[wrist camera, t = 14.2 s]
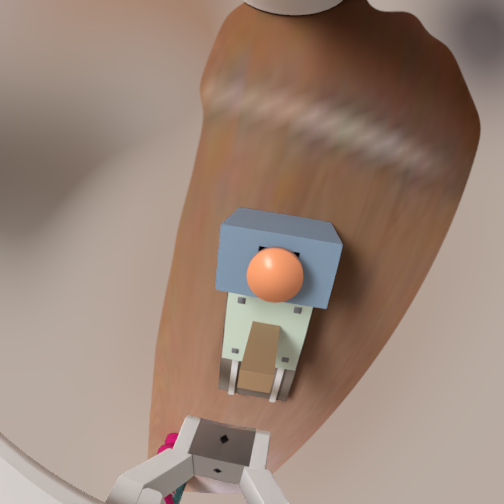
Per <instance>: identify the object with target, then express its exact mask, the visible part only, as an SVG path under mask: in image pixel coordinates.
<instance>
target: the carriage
mask: <svg viewBox="0 0 504 504" xmlns="http://www.w3.org/2000/svg"><path fill="white" fill-rule="evenodd" d="M312 309H313V307H310V306H304V305H298V304H292V303H286V302H278V303H274V302H268V301H265V300H262V299H260V298H257V297H251V296H246V295H240V294H235V293H230V292H228V300H227V310H226V320H225V330H224V340H223V351H222V358H227V359H232V360H236V361H241V362H242V363H241V367H240V371H239V378H238V384H237V387H238V388H243V389H248V390H254V391H259V392H265V393H270V389H271V386H272V382H273V378H274V372H275V368H281V369H288V370H294V371H295V369H296V366H297V362H298V359H299V356H300V352H301V349H302V345H303V342H304V338H305V335H306V331H307V328H308V324H309V320H310V317H311V313H312Z"/></svg>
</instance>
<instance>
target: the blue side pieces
mask: <svg viewBox="0 0 504 504" xmlns="http://www.w3.org/2000/svg"><path fill="white" fill-rule="evenodd" d="M260 246H262V247H273V246H277V247H283V248H286V249H288V250H290V251H292V252H297V253H299V257H298V258H299V260H300V262H301V264H302V267H303V283H302V286H301V289H300V290H299V292H298V293H297V294H296V295H295V296H294V297H292V298H291V299H289V300H287V301H284V302H286V303H292V304H298V305H304V306H310V307H316V308H323V309H327V305H328V301H329V298H330V294H331V290H332V287H333V283H334V279H335V275H336V271H337V267H338V263H339V259H340V255H341V251H342V246H343V244H342V242H341V240H340V238H339V236H338V235H337V233H336V231H335V229H334V227H333V225H332V223H331V222H325V221H320V220H314V219H309V218H303V217H297V216H291V215H286V214H280V213H273V212H267V211H261V210H255V209H248V208H241V207H239V208H238V209H237V210H236V211H235V212H234V213H232V214H231V215H230V216H229V217H228V218H227V219H226V220H225V221H224V222H223V223H222V224H221V230H220V241H219V251H218V262H217V273H216V285H215V290H220V291H225V292H230V293H235V294H240V295H246V296H251V297H257V296H256V295H255V294H254V293H253V292H252V290H251V289H250V287H249V285H248V282H247V269H248V267H249V264H250V262H251V260H252V258H253V257H254V255H255V254H256V253H258V252H259V249H260ZM257 298H259V297H257Z"/></svg>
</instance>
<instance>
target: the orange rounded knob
mask: <svg viewBox="0 0 504 504" xmlns="http://www.w3.org/2000/svg"><path fill="white" fill-rule="evenodd" d="M247 282H248V285H249V287H250V289H251V290H252V292H253V293H254V294H255V295H256V296H257V297H259V298H260V299H262V300H265V301H268V302H274V303H278V302H284V301H287V300H289V299H291V298H292V297H294V296H295V295H296V294H297V293H298V292H299V290H300V289H301V286H302V283H303V267H302V264H301V262H300V260H299V258H298V257H297V256H296V255H295V254H294V253H293V252H292V251H290V250H288V249H286V248H283V247H277V246H273V247H267V248H264V249H262V250H260V251H259V252H258V253H256V254H255V255H254V257H253V258H252V260H251V262H250V264H249V267H248V269H247Z"/></svg>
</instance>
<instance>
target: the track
mask: <svg viewBox="0 0 504 504" xmlns="http://www.w3.org/2000/svg"><path fill="white" fill-rule="evenodd" d="M227 300H228V292H227ZM313 309H314V307H313ZM313 309H312V313H313ZM226 310H227V301H226ZM312 313H311V316H312ZM225 320H226V311H225ZM310 320H311V317H310ZM310 320H309V324H310ZM309 324H308V327H309ZM224 330H225V321H224ZM307 331H308V328H307ZM307 331H306V335H307ZM306 335H305V338H306ZM305 338H304V342H305ZM223 340H224V331H223ZM304 342H303V345H304ZM303 345H302V348H303ZM222 351H223V341H222ZM301 352H302V349H301ZM301 352H300V355H301ZM299 359H300V356H299ZM299 359H298V362H299ZM298 362H297V365H298ZM241 363H242V362H241V361H236V360H232V359H227V358H222V352H221V363H220V374H219V386H218V389H221V390H226V391H228V394H231V395H234V392H235V393H240V394H245V395H251V396H256V397H262V398H268V399H270V400H269V402H275V400H281V401H286V400H287V397H288V394H289V390H290V387H291V384H292V381H293V378H294V375H295V372H296V369H295V371H294V370H288V369H281V368H275V372H274V378H273V382H272V386H271V389H270V393H265V392H259V391H254V390H248V389H243V388H238V387H237V384H238V378H239V371H240V367H241ZM296 368H297V366H296Z"/></svg>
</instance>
